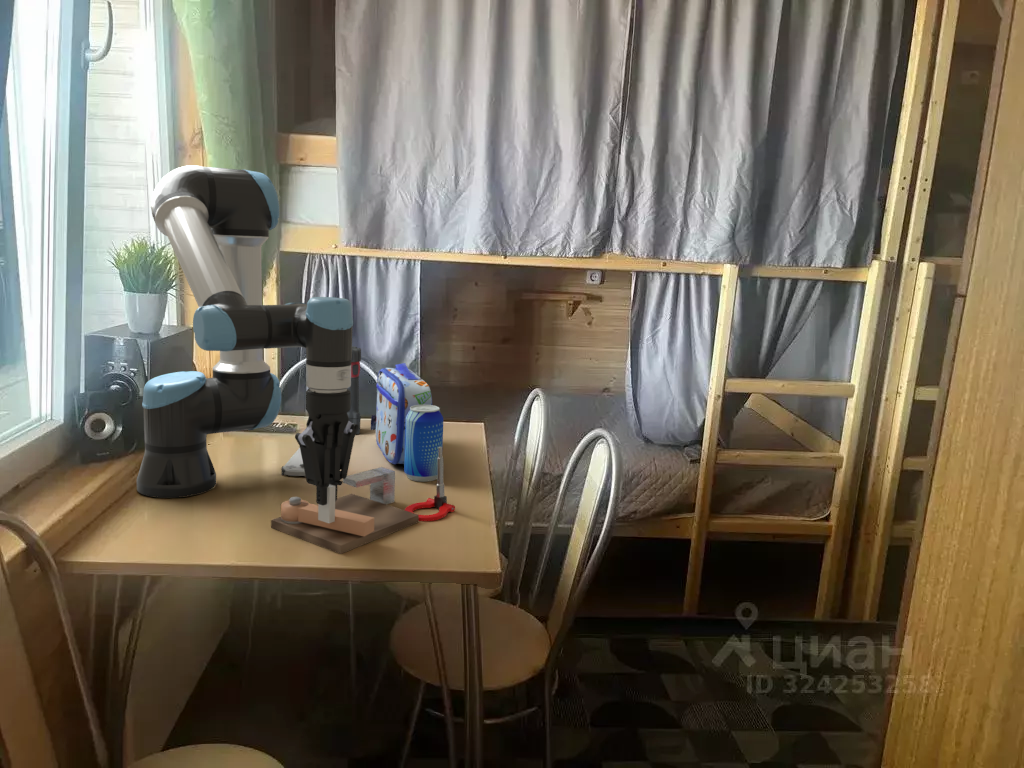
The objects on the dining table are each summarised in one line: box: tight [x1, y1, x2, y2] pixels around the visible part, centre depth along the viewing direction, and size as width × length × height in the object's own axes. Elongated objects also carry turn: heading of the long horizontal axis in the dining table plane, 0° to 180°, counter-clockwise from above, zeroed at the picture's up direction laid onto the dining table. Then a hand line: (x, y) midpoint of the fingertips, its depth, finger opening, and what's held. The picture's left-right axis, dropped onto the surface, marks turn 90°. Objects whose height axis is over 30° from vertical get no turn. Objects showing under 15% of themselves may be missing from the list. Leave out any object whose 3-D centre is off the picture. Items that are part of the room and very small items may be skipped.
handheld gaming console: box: [280, 446, 306, 478], centre depth 184 cm, size 23×3×10 cm
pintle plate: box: [270, 493, 420, 555], centre depth 147 cm, size 18×20×2 cm
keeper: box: [342, 466, 396, 505], centre depth 157 cm, size 10×4×6 cm, turn 141°
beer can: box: [403, 404, 444, 483], centre depth 176 cm, size 8×8×16 cm
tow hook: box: [404, 447, 456, 522], centre depth 154 cm, size 8×13×9 cm
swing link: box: [280, 496, 374, 537], centre depth 141 cm, size 18×5×4 cm, turn 67°
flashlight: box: [347, 345, 362, 435], centre depth 211 cm, size 8×8×23 cm
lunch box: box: [370, 362, 433, 465], centre depth 192 cm, size 28×10×22 cm, turn 22°
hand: (326, 520), depth 138 cm, fingers closed
